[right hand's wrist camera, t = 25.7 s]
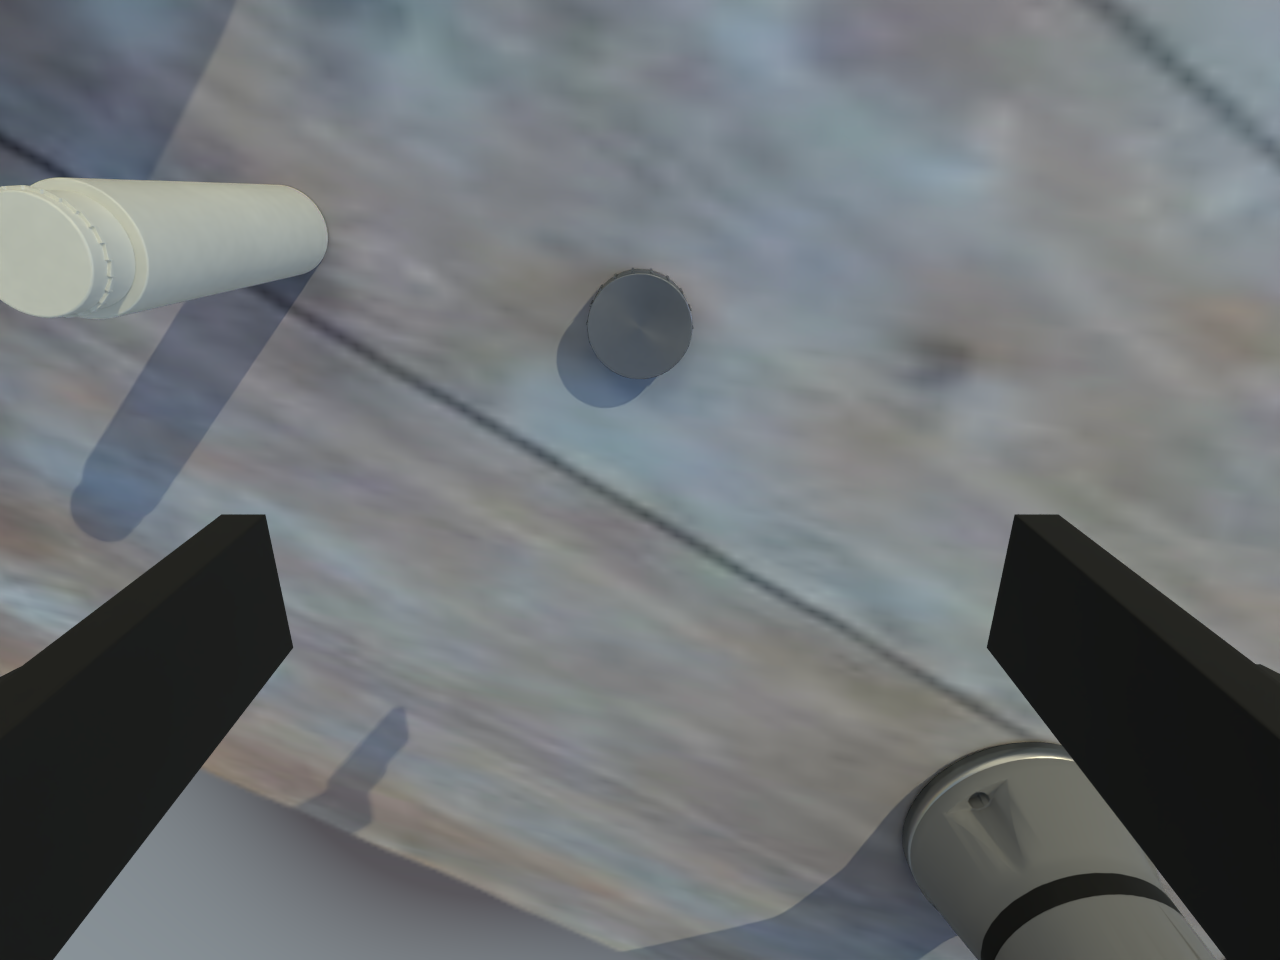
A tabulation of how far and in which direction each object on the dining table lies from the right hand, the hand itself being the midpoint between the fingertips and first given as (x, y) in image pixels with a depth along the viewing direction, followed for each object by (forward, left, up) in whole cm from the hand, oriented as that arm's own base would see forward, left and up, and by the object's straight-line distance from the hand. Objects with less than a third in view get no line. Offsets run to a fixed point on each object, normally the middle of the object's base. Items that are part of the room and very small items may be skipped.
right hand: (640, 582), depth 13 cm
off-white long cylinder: (+3, +18, -27) cm, 33 cm away
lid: (0, 0, -25) cm, 25 cm away
